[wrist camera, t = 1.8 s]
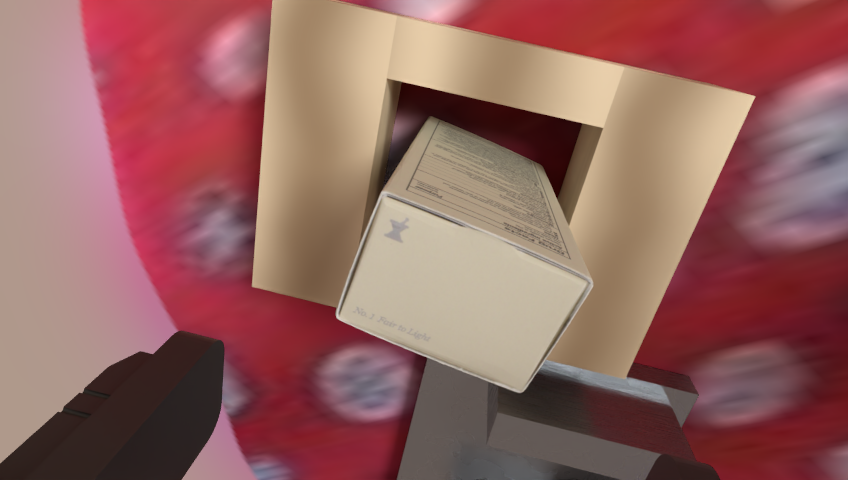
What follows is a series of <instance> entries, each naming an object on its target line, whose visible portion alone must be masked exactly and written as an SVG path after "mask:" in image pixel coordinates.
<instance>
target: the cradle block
mask: <svg viewBox="0 0 848 480" xmlns="http://www.w3.org/2000/svg"><path fill="white" fill-rule="evenodd" d="M698 396H699V394H698V392H697V390H696V389H695V387H694V385H693V383H692V381H691V379H690V378H689V376H685V375H681V374H677V373H673V372H669V371H664V370H660V369H656V368H652V367H648V366H644V365H640V364H636V363H632V365H631V367H630V369H629V372H628V374H627V376H626V378H625V379H621V378H617V377H613V376H609V375H605V374H601V373H597V372H593V371H589V370H585V369H581V368H577V367H573V366H569V365H565V364H561V363H557V362H553V361H549V360H545V362H544V363H543V365H542V366H541V368H540V369H539V370H538V372H537V373H536V375H535V376H534V377H533V379H532V381H531V382H530V384H529V385H528V387H527V388H526V389H525V390H524V392H522V393H517V392H514V391H512V390H509V389H506V388H504V387H501V386H498V385H496V384H493V383H491V382H488V381H485V380H483V379H481V378H478V377H475V376H473V375H470V374H467V373H465V372H462V371H460V370H457V369H455V368H452V367H449V366H448V365H445V364H441V363H439V362H437V361H435V360H433V359H430V358H428V357H427V360H426V364H425V368H424V372H423V376H422V380H421V383H420V387H419V391H418V395H417V399H416V403H415V407H414V411H413V415H412V419H411V423H410V427H409V431H408V435H407V439H406V443H405V447H404V451H403V455H402V459H401V463H400V467H399V471H398V475H397V479H396V480H645V479H646V477H647V476H648V474H649V472H650V470H651V468H652V466H653V465H654V463H655V461H656V459H657V458H658V457H659V456H660V455H662V454H669V455H673V456H677V457H681V458H685V459H689V460H693V461H696V459H695V457H694V454H693V452H692V450H691V448H690V446H689V444H688V441H687V439H686V437H685V435H684V433H683V430H682V428H681V427H682V425H683V423H684V422H685V420H686V418H687V416H688V414H689V412H690V411H691V409H692V407H693V405H694V403H695V401H696V400H697V398H698Z"/></svg>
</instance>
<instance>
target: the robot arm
mask: <svg viewBox="0 0 848 480" xmlns="http://www.w3.org/2000/svg"><path fill="white" fill-rule="evenodd" d="M223 366H224V344H223V342H222V341H221V340H217V339H213V338H209V337H205V336H201V335H197V334H193V333H189V332H185V331H178V332H176V333H175V334H174V335H172V336H171V337H170V338H169V339H168V340H167V341H166V342H165V343H164V344H163V345H162V346H161V347H160V348H159V349H158V350H157V351H156V352H155V353H154V354H149V353H145V352H138V353H136V354H134V355H132V356H130V357H128V358H126V359H123V360H121V361H119V362H117V363H115V364H113V365H111V366H109V367H108V368H107V369H106V370H104V371H103V372H102V373H101V374H100V375H99V376H98V377H97V378H96V379H94V380H93V381H92V382H91V383H90V384H89V385H88V386H87V387H85V389H84V392H83V393H79V394H78V395H76V396H75V397H74V398H73V399H72V400H71V401H70V402H69V403H68V404H66V405H65V406H64V408H63V411H62V412H57V413H56V414H55V415H54V416H53V417H52V418H51V419H50V420H49V421H47V422H46V423H45V424H44V425H43V426H42V427H41V428H40V429H39V430H38V431H36V432H35V433H34V434H33V435H32V436H31V437H29V438H28V439H27V440H26V441H25V442H24V443H23V444H22V445H21V446H19V447H18V448H17V449H16V450H15V451H14V452H13V453H12V454H10V455H9V456H8V457H7V458H6V459H5V460H4V461H3V462H2V463H0V480H182V478H183V477H184V475H185V474H186V472H187V471H188V469H189V468H190V466H191V465H192V463H193V462H194V460H195V459H196V458H197V456H198V455H199V453H200V452H201V450H202V449H203V447H204V446H205V444H206V443H207V441H208V440H209V438H210V436H211V435H212V433H213V431H214V428H215V426H216V423H217V421H218V418H219V414H220V410H221V403H222V385H223ZM645 480H720V478H719V476H718V474H717V473H716V471H715V470H714V469H713V467H711V466H710V465H708V464H705V463H701V462H697V461H693V460H689V459H685V458H681V457H677V456H673V455H669V454H662V455H660V456H659V457H658V458H657V459H656V461H655V463H654V465H653V466H652V468H651V470H650V472H649V474H648V476H647V477H646V479H645Z"/></svg>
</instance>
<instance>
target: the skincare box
mask: <svg viewBox="0 0 848 480" xmlns="http://www.w3.org/2000/svg"><path fill="white" fill-rule="evenodd" d="M592 288H593V280H592V278H591V276H590V273H589V271H588V269H587V267H586V264H585V262H584V260H583V258H582V255H581V253H580V251H579V249H578V246H577V244H576V242H575V239H574V237H573V235H572V232H571V230H570V228H569V225H568V223H567V221H566V219H565V216H564V214H563V211H562V209H561V207H560V205H559V203H558V200H557V198H556V196H555V193H554V191H553V189H552V186H551V184H550V182H549V179H548V177H547V175H546V173H545V170H544V168H543V166H542V165H540V164H538V163H536V162H534V161H532V160H530V159H528V158H526V157H524V156H521V155H519V154H517V153H515V152H513V151H511V150H508V149H506V148H504V147H502V146H500V145H498V144H495V143H493V142H491V141H489V140H486V139H484V138H482V137H479V136H477V135H475V134H473V133H471V132H468V131H466V130H463V129H461V128H459V127H457V126H454V125H452V124H449V123H447V122H444V121H442V120H440V119H437V118H435V117H432V116H430V117H428V118H427V120H426V122H425V123H424V125H423V126H422V128H421V130H420V131H419V133H418V134H417V136H416V138H415V139H414V141H413V142H412V144H411V145H410V147H409V149H408V150H407V152H406V153H405V155H404V156H403V158H402V160H401V161H400V163H399V164H398V166H397V168H396V169H395V171H394V172H393V174H392V176H391V177H390V179H389V180H388V182H387V184H386V185H385V187H384V188H383V190H382V191H381V193H380V195H379V198H378V201H377V203H376V206H375V208H374V210H373V213H372V215H371V217H370V220H369V222H368V225H367V227H366V229H365V232H364V234H363V237H362V239H361V242H360V244H359V247H358V250H357V252H356V255H355V257H354V260H353V263H352V266H351V268H350V271H349V273H348V276H347V279H346V282H345V285H344V288H343V291H342V294H341V297H340V299H339V302H338V305H337V308H336V314H335V315H336V318H337V319H338V320H340V321H342V322H344V323H347V324H349V325H351V326H353V327H355V328H357V329H360V330H362V331H364V332H367V333H369V334H371V335H373V336H376V337H378V338H381V339H383V340H386V341H388V342H390V343H392V344H395V345H398V346H400V347H403V348H405V349H407V350H410V351H412V352H415V353H417V354H419V355H422V356H424V357H428V358H430V359H433V360H435V361H437V362H439V363H441V364H445V365H448V366H449V367H452V368H455V369H457V370H460V371H462V372H465V373H467V374H470V375H473V376H475V377H478V378H481V379H483V380H485V381H488V382H491V383H493V384H496V385H498V386H501V387H504V388H506V389H509V390H512V391H514V392H517V393H522V392H524V390H525V389H526V388H527V387H528V385H529V384H530V382H531V381H532V379H533V377H534V376H535V375H536V373H537V372H538V370H539V369H540V368H541V366H542V365H543V363H544V362H545V360H546V358H547V357H548V356H549V354H550V353H551V351H552V350H553V348H554V347H555V345H556V344H557V342H558V341H559V339H560V337H561V336H562V335H563V333H564V332H565V330H566V329H567V327H568V326H569V324H570V323H571V321H572V319H573V318H574V316H575V315H576V313H577V311H578V310H579V308H580V307H581V305H582V304H583V302H584V301H585V299H586V297H587V296H588V294H589V293H590V291H591V289H592Z"/></svg>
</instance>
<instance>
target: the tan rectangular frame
mask: <svg viewBox="0 0 848 480" xmlns="http://www.w3.org/2000/svg"><path fill="white" fill-rule="evenodd" d="M402 82H405V83H409V84H414V85H418V86H423V87H427V88H431V89H436V90H440V91H444V92H449V93H453V94H457V95H462V96H466V97H470V98H475V99H479V100H484V101H488V102H492V103H497V104H501V105H505V106H510V107H514V108H518V109H523V110H527V111H532V112H536V113H540V114H545V115H549V116H553V117H558V118H562V119H566V120H571V121H575V122H579V123H582V126H581V129H580V132H579V135H578V138H577V141H576V144H575V147H574V150H573V153H572V156H571V160H570V163H569V166H568V169H567V172H566V175H565V178H564V181H563V184H562V187H561V190H560V193H559V196H558V199H557V200H558V203H559V205H560V207H561V209H562V211H563V214H564V216H565V219H566V221H567V223H568V225H569V228H570V230H571V232H572V235H573V237H574V239H575V242H576V244H577V246H578V249H579V251H580V253H581V255H582V258H583V260H584V262H585V264H586V267H587V269H588V271H589V273H590V276H591V278H592V280H593V288H592V289H591V291H590V293H589V294H588V296H587V297H586V299H585V301H584V302H583V304H582V305H581V307H580V308H579V310H578V311H577V313H576V315H575V316H574V318H573V319H572V321H571V323H570V324H569V326H568V327H567V329H566V330H565V332H564V333H563V335H562V336H561V337H560V339H559V341H558V342H557V344H556V345H555V347H554V348H553V350H552V351H551V353H550V354H549V356H548V357H547V358H546V360H549V361H553V362H557V363H561V364H565V365H569V366H573V367H577V368H581V369H585V370H589V371H593V372H597V373H601V374H605V375H609V376H613V377H617V378H621V379H625V378H626V376H627V374H628V372H629V369H630V367H631V365H632V363H633V361H634V359H635V356H636V354H637V352H638V350H639V348H640V346H641V343H642V341H643V339H644V337H645V335H646V333H647V330H648V328H649V326H650V324H651V322H652V320H653V317H654V315H655V313H656V311H657V309H658V307H659V304H660V302H661V300H662V298H663V296H664V294H665V291H666V289H667V287H668V285H669V283H670V281H671V278H672V276H673V274H674V272H675V270H676V268H677V265H678V263H679V261H680V259H681V257H682V254H683V252H684V250H685V248H686V246H687V244H688V241H689V239H690V237H691V235H692V233H693V231H694V228H695V226H696V224H697V222H698V220H699V218H700V215H701V213H702V211H703V209H704V207H705V205H706V202H707V200H708V198H709V196H710V194H711V192H712V189H713V187H714V185H715V183H716V181H717V179H718V176H719V174H720V172H721V170H722V168H723V166H724V163H725V161H726V159H727V157H728V155H729V153H730V150H731V148H732V146H733V144H734V142H735V140H736V137H737V135H738V133H739V131H740V129H741V127H742V124H743V122H744V120H745V118H746V116H747V114H748V111H749V109H750V107H751V105H752V103H753V101H754V98H755V96H752V95H749V94H745V93H742V92H738V91H734V90H731V89H727V88H724V87H720V86H717V85H713V84H709V83H704V82H700V81H695V80H691V79H686V78H682V77H677V76H673V75H669V74H664V73H660V72H655V71H651V70H646V69H642V68H637V67H633V66H628V65H624V64H619V63H615V62H611V61H606V60H602V59H597V58H593V57H588V56H584V55H579V54H575V53H570V52H566V51H561V50H557V49H553V48H548V47H544V46H539V45H535V44H530V43H526V42H521V41H517V40H512V39H508V38H503V37H499V36H495V35H490V34H486V33H481V32H477V31H472V30H468V29H463V28H459V27H454V26H450V25H445V24H441V23H437V22H432V21H428V20H423V19H419V18H414V17H410V16H405V15H401V14H396V13H392V12H387V11H383V10H379V9H374V8H370V7H365V6H361V5H356V4H352V3H347V2H343V1H338V0H272V14H271V28H270V42H269V56H268V70H267V83H266V97H265V111H264V125H263V139H262V153H261V167H260V181H259V195H258V209H257V223H256V237H255V251H254V264H253V278H252V287H256V288H260V289H264V290H268V291H272V292H276V293H280V294H284V295H288V296H292V297H296V298H300V299H304V300H308V301H312V302H316V303H320V304H324V305H328V306H332V307H336V308H337V305H338V302H339V299H340V297H341V294H342V291H343V288H344V285H345V282H346V279H347V276H348V273H349V271H350V268H351V266H352V263H353V260H354V257H355V255H356V252H357V250H358V247H359V244H360V242H361V239H362V237H363V234H364V232H365V229H366V227H367V225H368V222H369V220H370V217H371V215H372V213H373V210H374V208H375V206H376V203H377V201H378V198H379V195H380V193H381V191H382V190H383V185H384V179H385V173H386V168H387V162H388V156H389V151H390V145H391V140H392V134H393V128H394V123H395V117H396V112H397V106H398V100H399V95H400V89H401V83H402Z"/></svg>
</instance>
